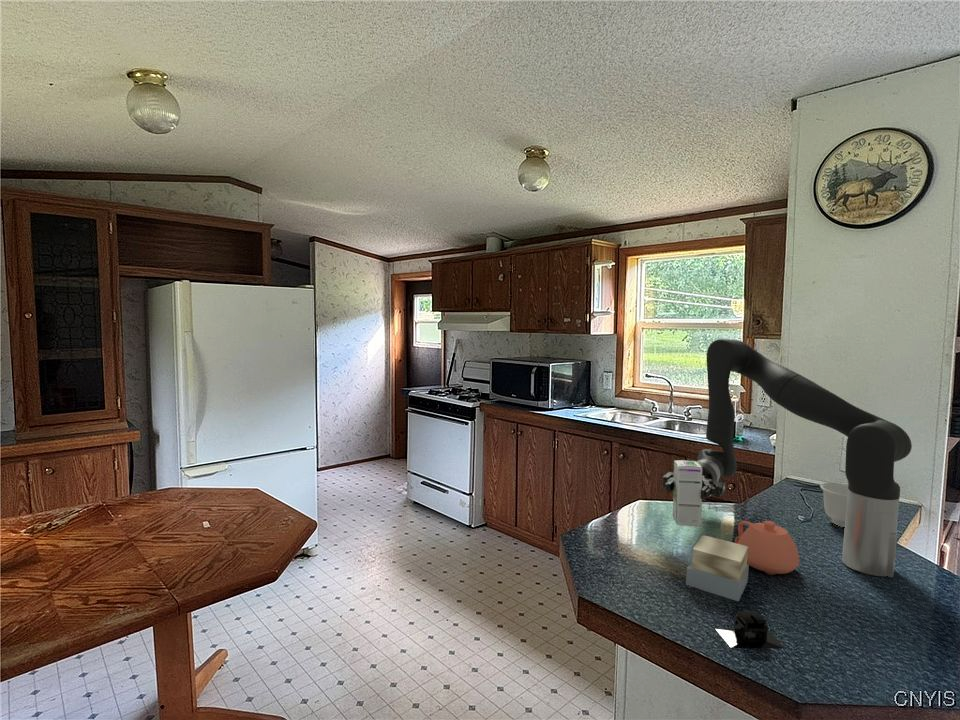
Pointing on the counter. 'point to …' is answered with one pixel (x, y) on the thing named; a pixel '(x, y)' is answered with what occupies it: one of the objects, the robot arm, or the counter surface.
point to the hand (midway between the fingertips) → (685, 491)
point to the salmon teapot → (768, 547)
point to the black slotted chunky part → (749, 632)
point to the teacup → (835, 501)
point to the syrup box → (687, 493)
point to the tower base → (717, 583)
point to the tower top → (720, 557)
